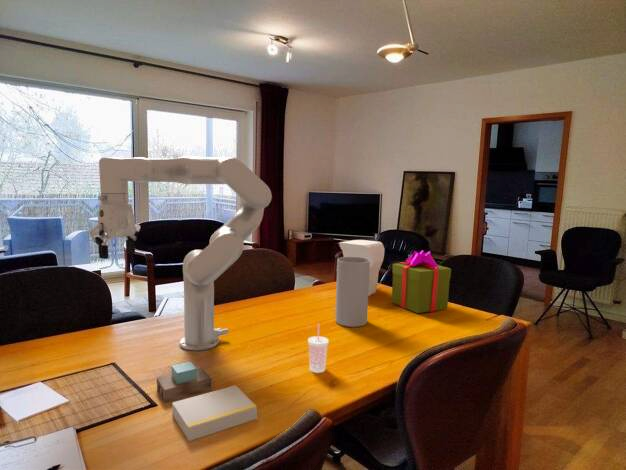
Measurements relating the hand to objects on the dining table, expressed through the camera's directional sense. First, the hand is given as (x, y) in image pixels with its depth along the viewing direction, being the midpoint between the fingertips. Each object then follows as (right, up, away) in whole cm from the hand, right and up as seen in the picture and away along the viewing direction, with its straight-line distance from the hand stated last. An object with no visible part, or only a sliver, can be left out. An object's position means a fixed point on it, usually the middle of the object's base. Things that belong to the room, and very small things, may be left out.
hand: (117, 255), depth 129 cm
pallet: (+26, -35, -18) cm, 47 cm away
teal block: (+26, -31, -18) cm, 44 cm away
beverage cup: (+61, -34, -3) cm, 69 cm away
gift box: (+107, -26, +62) cm, 126 cm away
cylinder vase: (+74, -28, +38) cm, 88 cm away
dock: (+36, -36, -30) cm, 59 cm away
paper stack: (+85, -23, +81) cm, 120 cm away
